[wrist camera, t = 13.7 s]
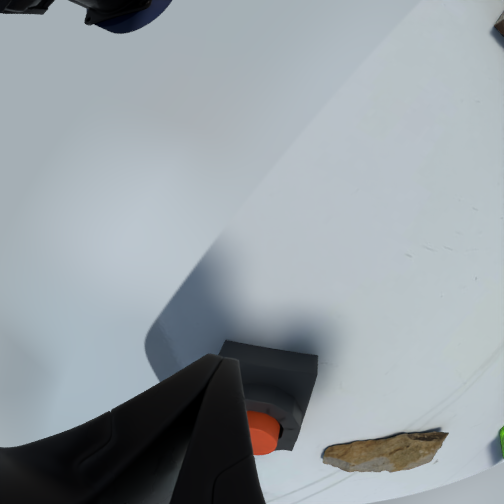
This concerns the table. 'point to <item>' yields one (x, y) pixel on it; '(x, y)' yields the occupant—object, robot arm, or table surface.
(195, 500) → the robot arm
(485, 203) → the table surface
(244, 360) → the black button base
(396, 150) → the table surface
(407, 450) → the stone
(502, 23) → the plate
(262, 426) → the bell button
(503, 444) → the dollhouse room
